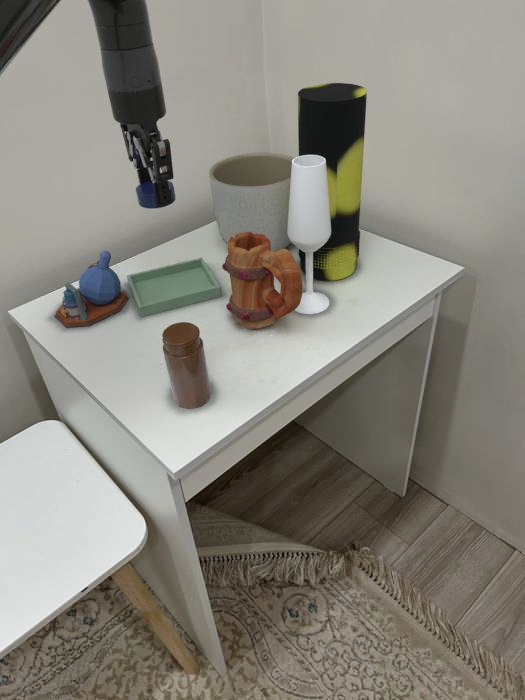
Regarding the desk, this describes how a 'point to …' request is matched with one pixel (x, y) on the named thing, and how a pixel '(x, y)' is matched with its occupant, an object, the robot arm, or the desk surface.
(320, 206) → the champagne flute
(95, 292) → the model
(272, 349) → the desk surface
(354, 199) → the container
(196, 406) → the jar
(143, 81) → the robot arm
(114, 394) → the desk surface
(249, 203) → the planter
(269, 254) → the mug
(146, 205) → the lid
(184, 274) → the tray
